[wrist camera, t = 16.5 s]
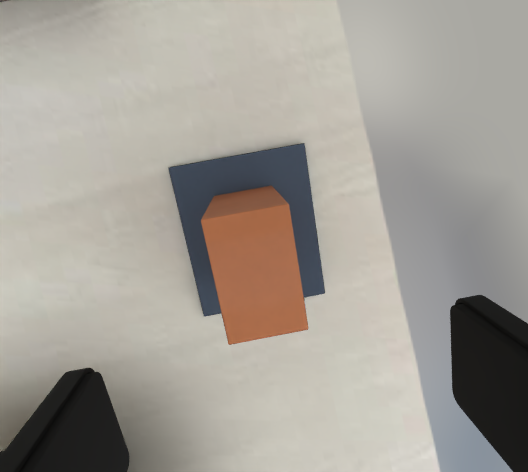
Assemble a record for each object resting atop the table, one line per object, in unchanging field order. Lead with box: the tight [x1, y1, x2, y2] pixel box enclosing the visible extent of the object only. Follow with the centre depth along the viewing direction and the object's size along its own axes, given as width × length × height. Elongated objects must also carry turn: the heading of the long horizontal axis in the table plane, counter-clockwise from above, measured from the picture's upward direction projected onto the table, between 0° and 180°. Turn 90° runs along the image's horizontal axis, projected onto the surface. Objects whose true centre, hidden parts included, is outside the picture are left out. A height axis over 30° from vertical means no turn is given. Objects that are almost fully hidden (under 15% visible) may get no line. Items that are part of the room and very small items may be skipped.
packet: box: [201, 186, 308, 345], centre depth 22 cm, size 7×4×9 cm, turn 10°
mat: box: [169, 143, 325, 316], centre depth 27 cm, size 10×12×1 cm
